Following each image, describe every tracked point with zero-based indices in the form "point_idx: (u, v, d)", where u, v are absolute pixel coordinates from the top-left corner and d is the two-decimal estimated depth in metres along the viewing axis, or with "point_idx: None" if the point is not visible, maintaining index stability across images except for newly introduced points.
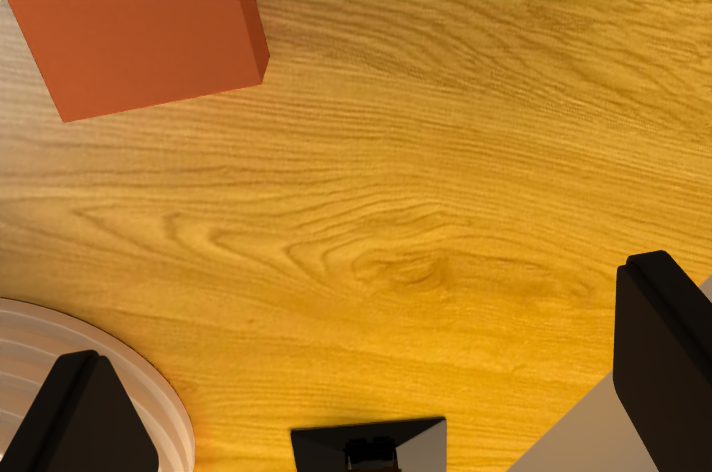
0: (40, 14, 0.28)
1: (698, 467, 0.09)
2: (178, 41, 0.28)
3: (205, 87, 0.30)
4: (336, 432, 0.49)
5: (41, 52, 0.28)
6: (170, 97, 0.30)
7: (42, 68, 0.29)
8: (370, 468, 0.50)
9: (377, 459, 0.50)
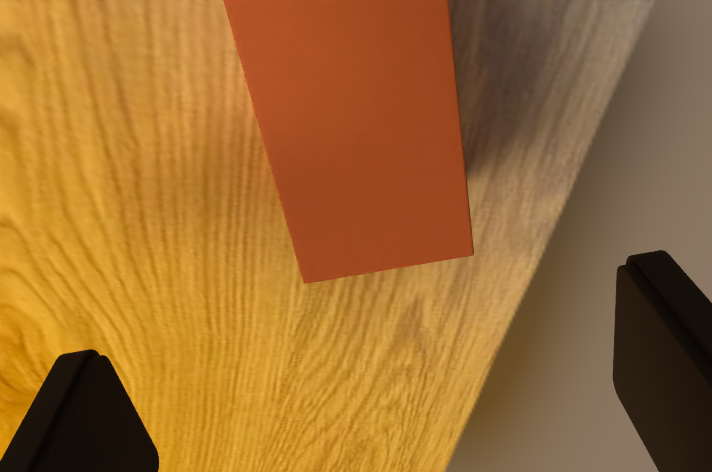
0: None
1: (698, 467, 0.09)
2: (363, 190, 0.20)
3: (296, 217, 0.20)
4: None
5: None
6: (278, 169, 0.19)
7: None
8: None
9: None
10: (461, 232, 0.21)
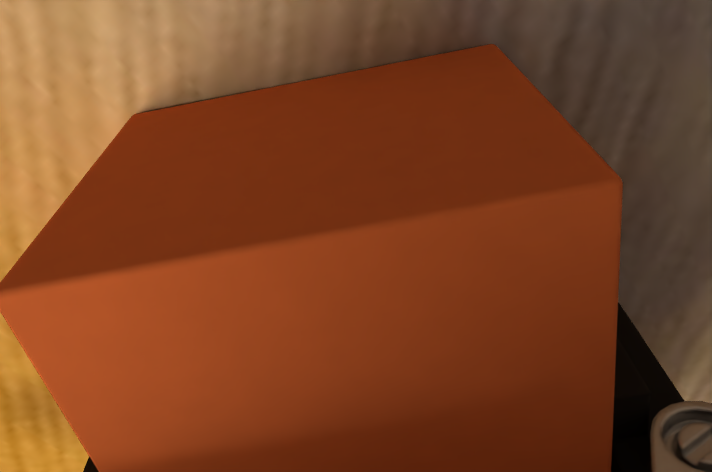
0: (520, 302, 0.06)
1: None
2: None
3: None
4: None
5: (349, 271, 0.06)
6: None
7: (271, 265, 0.06)
8: None
9: None
10: None
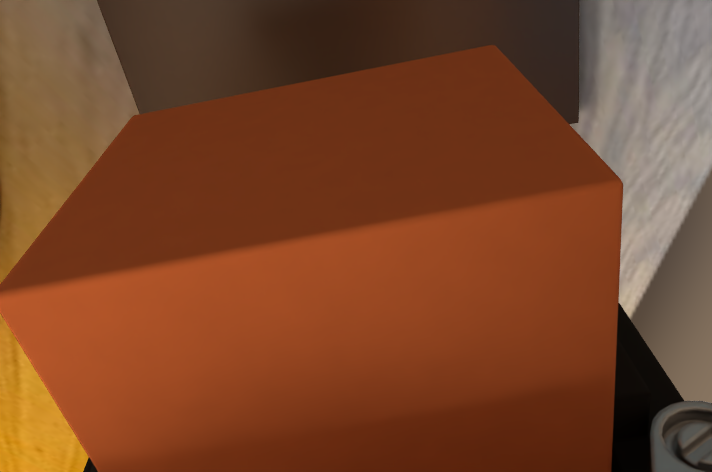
0: (520, 303, 0.06)
1: None
2: None
3: None
4: None
5: (349, 273, 0.06)
6: None
7: (271, 266, 0.06)
8: None
9: None
10: None
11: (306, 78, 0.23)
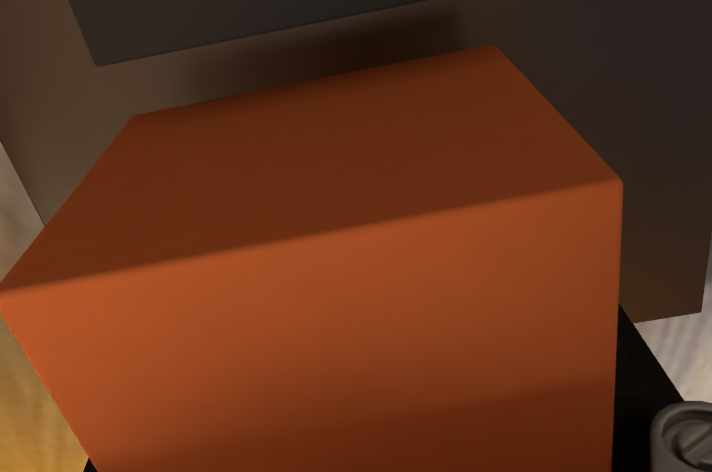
0: (520, 303, 0.06)
1: None
2: None
3: None
4: None
5: (349, 273, 0.06)
6: None
7: (271, 265, 0.06)
8: None
9: None
10: None
11: None
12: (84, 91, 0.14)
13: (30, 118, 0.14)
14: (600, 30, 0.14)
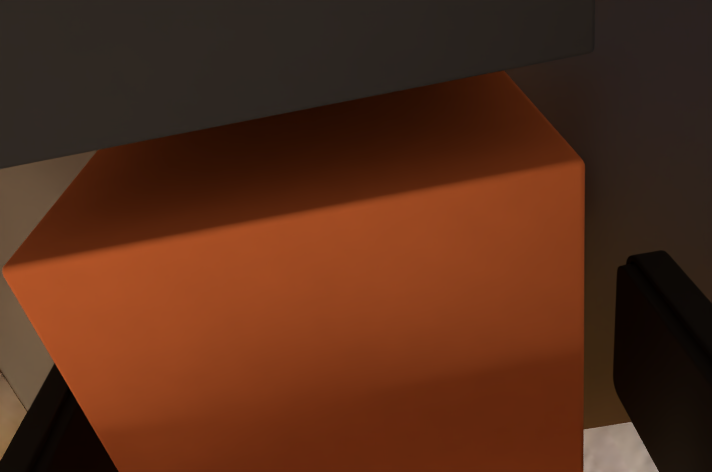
0: (493, 277, 0.07)
1: (699, 466, 0.09)
2: None
3: None
4: None
5: (333, 248, 0.06)
6: None
7: (261, 241, 0.06)
8: None
9: None
10: None
11: None
12: None
13: None
14: (656, 80, 0.11)
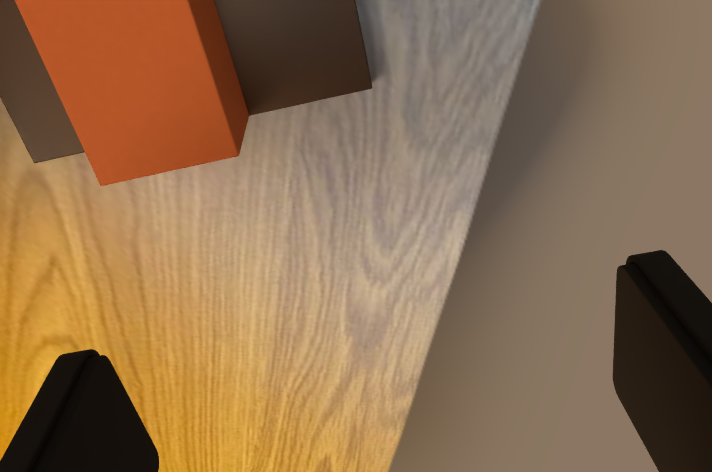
0: None
1: (699, 467, 0.09)
2: (132, 99, 0.24)
3: (82, 125, 0.24)
4: None
5: None
6: (58, 82, 0.24)
7: None
8: None
9: None
10: (223, 135, 0.25)
11: None
12: None
13: None
14: None
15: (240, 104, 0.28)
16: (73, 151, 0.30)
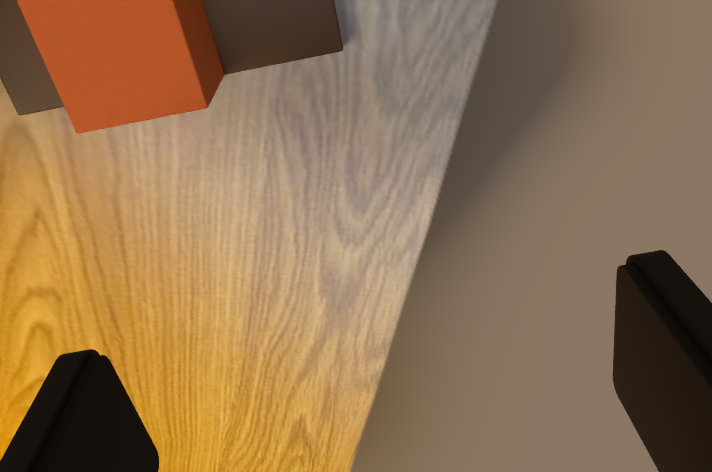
0: None
1: (698, 466, 0.09)
2: (106, 49, 0.25)
3: (58, 73, 0.26)
4: None
5: None
6: (35, 30, 0.25)
7: None
8: None
9: None
10: (192, 86, 0.26)
11: None
12: None
13: None
14: None
15: (214, 61, 0.29)
16: (56, 105, 0.31)
